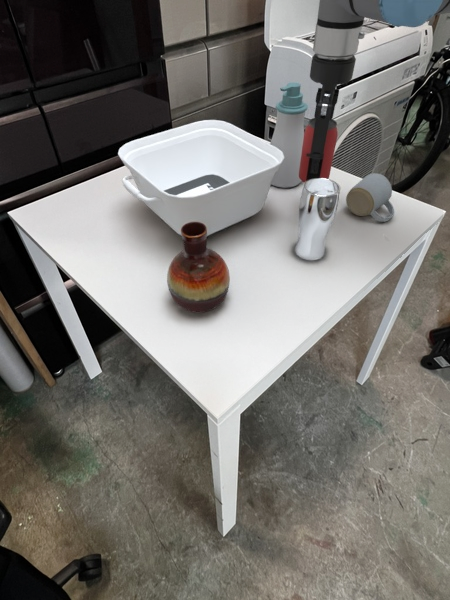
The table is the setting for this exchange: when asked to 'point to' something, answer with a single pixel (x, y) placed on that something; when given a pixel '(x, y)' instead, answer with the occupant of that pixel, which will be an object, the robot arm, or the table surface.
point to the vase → (197, 272)
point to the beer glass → (316, 216)
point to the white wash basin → (201, 173)
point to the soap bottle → (289, 135)
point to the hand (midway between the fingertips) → (313, 176)
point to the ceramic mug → (371, 197)
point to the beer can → (328, 149)
